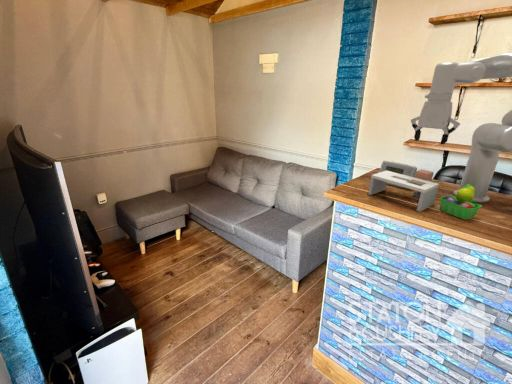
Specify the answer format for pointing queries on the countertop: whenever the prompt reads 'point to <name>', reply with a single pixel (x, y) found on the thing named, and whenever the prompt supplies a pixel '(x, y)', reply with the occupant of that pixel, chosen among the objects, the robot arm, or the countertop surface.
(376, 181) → the keyhole board
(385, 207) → the countertop surface
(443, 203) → the fruit basket
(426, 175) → the peg
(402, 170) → the digital clock
